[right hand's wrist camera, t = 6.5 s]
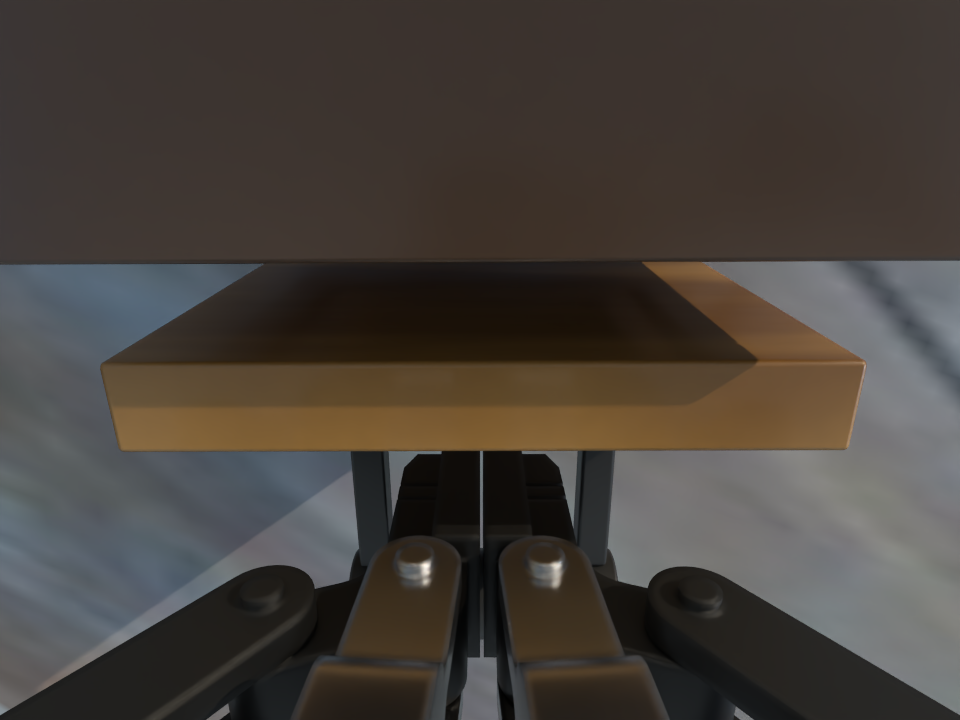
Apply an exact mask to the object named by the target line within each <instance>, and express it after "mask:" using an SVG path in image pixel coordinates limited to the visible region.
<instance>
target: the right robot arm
mask: <svg viewBox="0 0 960 720" xmlns="http://www.w3.org/2000/svg"><path fill="white" fill-rule="evenodd" d="M483 590H484V657H497V708H498V717H499V720H740V719H738V718H737V717H736V716H734V713H735V708H736V707H738V708H739V709H741V710H742V711H743V712H745V713H746V714H747V715H749V716H750V717H751V718H753V719H754V720H960V715H958V714H957V713H955V712H953V711H952V710H950V709H948V708H946V707H945V706H943V705H941V704H940V703H938V702H936V701H935V700H933V699H931V698H929V697H928V696H926V695H924V694H923V693H921V692H919V691H918V690H916V689H914V688H912V687H911V686H909V685H907V684H906V683H904V682H902V681H901V680H899V679H897V678H895V677H894V676H892V675H890V674H889V673H887V672H885V671H884V670H882V669H880V668H878V667H877V666H875V665H873V664H872V663H870V662H868V661H866V660H865V659H863V658H861V657H860V656H858V655H856V654H855V653H853V652H851V651H849V650H848V649H846V648H844V647H843V646H841V645H839V644H838V643H836V642H834V641H832V640H831V639H829V638H827V637H826V636H824V635H822V634H821V633H819V632H817V631H815V630H814V629H812V628H810V627H809V626H807V625H805V624H804V623H802V622H800V621H798V620H797V619H795V618H793V617H792V616H790V615H788V614H787V613H785V612H783V611H781V610H780V609H778V608H776V607H775V606H773V605H771V604H769V603H768V602H766V601H764V600H763V599H761V598H759V597H758V596H756V595H754V594H752V593H751V592H749V591H747V590H746V589H744V588H742V587H741V586H739V585H737V584H735V583H734V582H732V581H730V580H729V579H727V578H725V577H723V576H721V575H719V574H717V573H714V572H712V571H709V570H705V569H701V568H696V567H673V568H669V569H665V570H663V571H661V572H659V573H657V574H656V575H655V576H654V577H653V578H652V579H651V581H650V583H649V586H648V588H644V587H640V586H635V585H631V584H627V583H623V582H619V581H616V580H613V579H611V578H608V577H606V576H604V575H602V574H600V573H598V572H597V571H595V570H594V569H593V568H592V565H591V562H590V560H589V558H588V556H587V555H586V554H585V552H584V551H583V550H581V549H580V548H579V547H578V546H577V543H576V539H575V534H574V530H573V526H572V521H571V517H570V513H569V509H568V504H567V500H566V496H565V491H564V487H563V483H562V479H561V474H560V470H559V467H558V466H557V465H556V464H555V463H554V462H553V461H552V460H551V459H550V458H549V457H548V456H547V455H546V454H522V451H483ZM467 657H480V451H442V454H418V455H417V456H416V457H415V458H414V459H413V460H412V461H411V462H410V463H409V464H408V465H407V466H406V467H405V468H404V471H403V476H402V480H401V486H400V489H399V494H398V500H397V503H396V507H395V512H394V516H393V520H392V525H391V529H390V534H389V538H388V543H387V544H385V545H384V546H382V547H381V548H380V549H379V550H377V551H376V552H375V554H374V555H373V556H372V558H371V560H370V562H369V565H368V568H367V570H366V573H365V574H363V575H361V576H359V577H357V578H354V579H352V580H349V581H346V582H343V583H339V584H334V585H330V586H326V587H322V588H317V589H314V584H313V581H312V579H311V578H310V576H309V575H308V574H306V573H305V572H304V571H302V570H300V569H298V568H295V567H291V566H285V565H273V566H265V567H259V568H256V569H253V570H250V571H247V572H245V573H242V574H240V575H239V576H237V577H235V578H233V579H231V580H230V581H228V582H226V583H225V584H223V585H221V586H219V587H218V588H216V589H214V590H213V591H211V592H209V593H208V594H206V595H204V596H202V597H201V598H199V599H197V600H196V601H194V602H192V603H191V604H189V605H187V606H185V607H184V608H182V609H180V610H179V611H177V612H175V613H174V614H172V615H170V616H168V617H167V618H165V619H163V620H162V621H160V622H158V623H156V624H155V625H153V626H151V627H150V628H148V629H146V630H145V631H143V632H141V633H139V634H138V635H136V636H134V637H133V638H131V639H129V640H128V641H126V642H124V643H122V644H121V645H119V646H117V647H116V648H114V649H112V650H111V651H109V652H107V653H105V654H104V655H102V656H100V657H99V658H97V659H95V660H94V661H92V662H90V663H88V664H87V665H85V666H83V667H82V668H80V669H78V670H77V671H75V672H73V673H71V674H70V675H68V676H66V677H65V678H63V679H61V680H59V681H58V682H56V683H54V684H53V685H51V686H49V687H48V688H46V689H44V690H42V691H41V692H39V693H37V694H36V695H34V696H32V697H31V698H29V699H27V700H25V701H24V702H22V703H20V704H19V705H17V706H15V707H14V708H12V709H10V710H8V711H7V712H5V713H3V714H2V715H0V720H206V719H207V718H209V717H210V716H211V715H213V714H214V713H215V712H217V711H218V710H220V709H221V708H222V707H224V706H225V705H226V704H229V710H230V712H229V713H228V714H227V715H226V716H224V717H223V718H222V719H220V720H461V717H462V708H463V689H464V687H465V684H466V680H467Z"/></svg>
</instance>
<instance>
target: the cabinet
mask: <svg viewBox="0 0 960 720" xmlns="http://www.w3.org/2000/svg"><path fill="white" fill-rule="evenodd" d="M741 261H960V0H0V265H13V264H256V263H499V262H741Z"/></svg>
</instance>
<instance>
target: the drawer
mask: <svg viewBox="0 0 960 720" xmlns="http://www.w3.org/2000/svg"><path fill="white" fill-rule="evenodd" d="M866 367H867V366H866V362H865V360H863V359H861V358H860V357H858V356H856V355H855V354H853V353H851V352H850V351H848V350H846V349H845V348H843V347H841V346H840V345H838V344H836V343H835V342H833V341H831V340H830V339H828V338H826V337H825V336H823V335H821V334H820V333H818V332H816V331H815V330H813V329H811V328H810V327H808V326H807V325H805V324H803V323H802V322H800V321H798V320H797V319H795V318H793V317H792V316H790V315H788V314H787V313H785V312H783V311H782V310H780V309H778V308H777V307H775V306H773V305H772V304H770V303H768V302H767V301H765V300H763V299H762V298H760V297H758V296H757V295H755V294H753V293H752V292H750V291H748V290H747V289H745V288H743V287H742V286H740V285H738V284H737V283H735V282H733V281H732V280H730V279H729V278H727V277H725V276H724V275H722V274H720V273H719V272H717V271H715V270H714V269H712V268H710V267H709V266H707V265H705V264H704V263H702V262H499V263H265V264H263V265H262V266H260V267H258V268H257V269H255V270H254V271H252V272H250V273H249V274H247V275H245V276H244V277H242V278H240V279H239V280H237V281H236V282H234V283H232V284H231V285H229V286H227V287H226V288H224V289H222V290H221V291H219V292H218V293H216V294H214V295H213V296H211V297H209V298H208V299H206V300H204V301H203V302H201V303H200V304H198V305H196V306H195V307H193V308H191V309H190V310H188V311H186V312H185V313H183V314H182V315H180V316H178V317H177V318H175V319H173V320H172V321H170V322H168V323H167V324H165V325H164V326H162V327H160V328H159V329H157V330H155V331H154V332H152V333H150V334H149V335H147V336H146V337H144V338H142V339H141V340H139V341H137V342H136V343H134V344H132V345H131V346H129V347H128V348H126V349H124V350H123V351H121V352H119V353H118V354H116V355H114V356H113V357H111V358H110V359H108V360H106V361H105V362H103V363H102V364H101V368H100V370H101V374H102V378H103V383H104V387H105V391H106V395H107V400H108V404H109V408H110V413H111V417H112V421H113V425H114V430H115V434H116V438H117V442H118V447H119V449H120V450H121V451H123V452H205V451H351V460H352V472H353V483H354V495H355V506H356V518H357V529H358V541H359V549H358V550H357V552H356V554H355V556H354V559H353V563H352V567H351V572H350V578H349V580H352V579H354V578H357V577H359V576H361V575H363V574H365V573H366V570H367V568H368V565H369V562H370V560H371V558H372V556H373V555H374V554H375V552H376V551H377V550H379V549H380V548H381V547H382V546H384V545H385V544H387V543H388V538H389V534H390V529H391V525H392V520H393V515H392V500H391V484H390V468H389V452H388V451H578V456H577V474H576V492H575V510H574V528H573V530H574V534H575V539H576V543H577V546H578V547H579V548H580V549H581V550H583V551H584V552H585V554H586V555H587V556H588V558H589V560H590V562H591V565H592V568H593V569H594V570H595V571H597V572H598V573H600V574H602V575H604V576H606V577H608V578H611V579H613V580H616V581H618V578H617V571H616V566H615V562H614V559H613V556H612V554H611V552H610V550H609V549H607V547H608V534H609V521H610V509H611V496H612V484H613V471H614V459H615V451H626V450H845V449H847V448H848V446H849V442H850V438H851V433H852V429H853V424H854V420H855V416H856V411H857V407H858V402H859V398H860V394H861V389H862V385H863V380H864V376H865V371H866ZM480 639H484V590H483V548H480Z"/></svg>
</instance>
